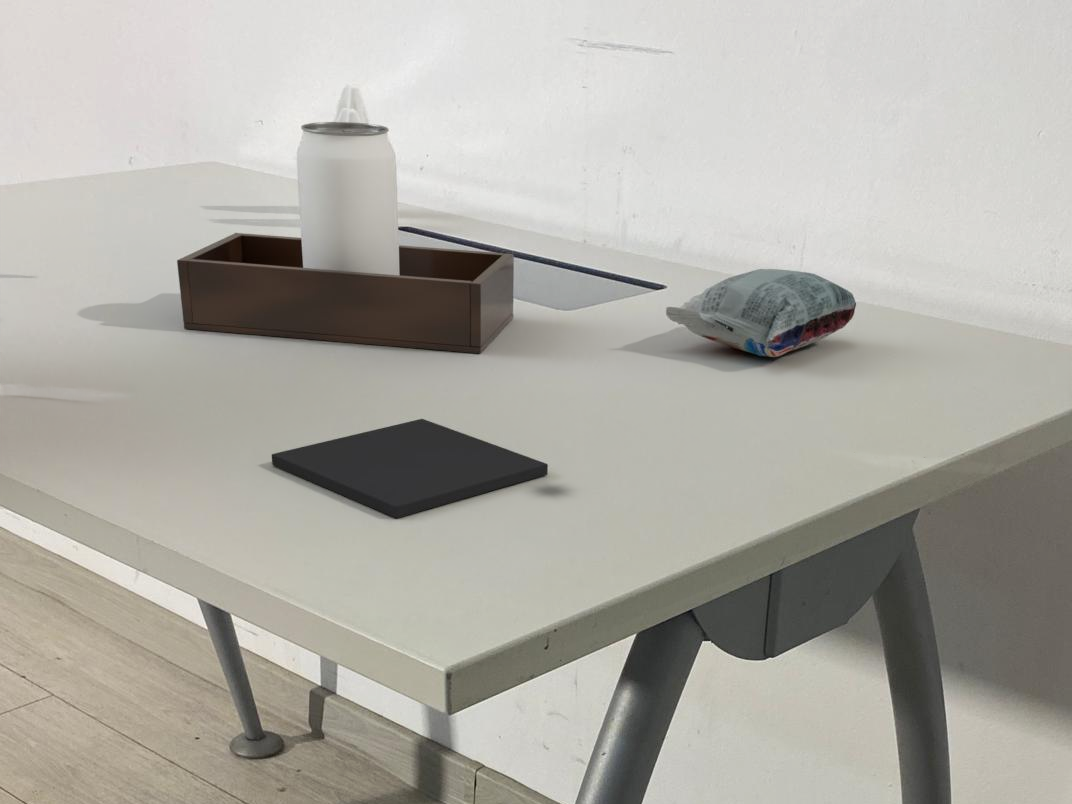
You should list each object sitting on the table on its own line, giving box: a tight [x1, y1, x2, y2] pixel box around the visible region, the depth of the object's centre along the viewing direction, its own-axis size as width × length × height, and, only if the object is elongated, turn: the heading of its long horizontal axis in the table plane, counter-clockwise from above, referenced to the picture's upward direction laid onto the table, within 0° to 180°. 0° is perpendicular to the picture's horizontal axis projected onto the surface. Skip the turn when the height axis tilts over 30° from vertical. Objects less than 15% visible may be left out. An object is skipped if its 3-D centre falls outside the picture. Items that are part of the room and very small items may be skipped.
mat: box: [271, 418, 549, 519], centre depth 73 cm, size 10×10×1 cm
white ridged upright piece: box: [332, 84, 371, 124], centre depth 131 cm, size 12×4×11 cm, turn 6°
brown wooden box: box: [176, 232, 515, 354], centre depth 98 cm, size 20×10×4 cm, turn 81°
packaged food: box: [665, 268, 857, 358], centre depth 97 cm, size 9×12×5 cm
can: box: [296, 121, 400, 275], centre depth 96 cm, size 6×6×12 cm
